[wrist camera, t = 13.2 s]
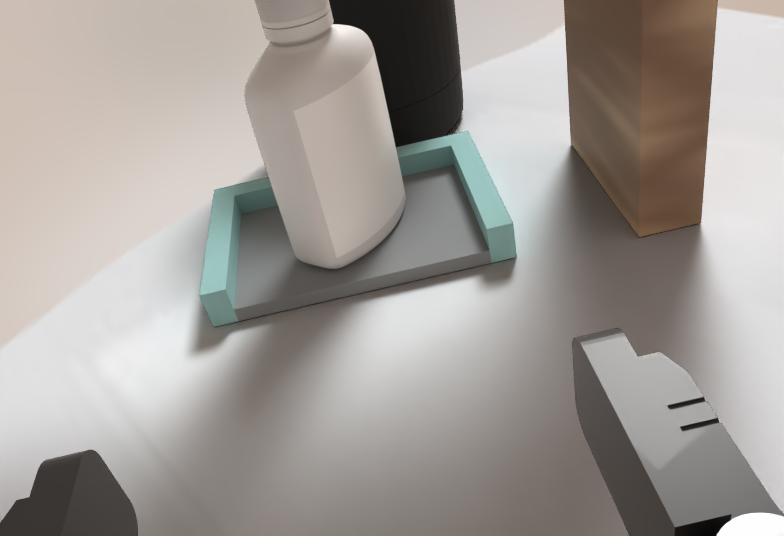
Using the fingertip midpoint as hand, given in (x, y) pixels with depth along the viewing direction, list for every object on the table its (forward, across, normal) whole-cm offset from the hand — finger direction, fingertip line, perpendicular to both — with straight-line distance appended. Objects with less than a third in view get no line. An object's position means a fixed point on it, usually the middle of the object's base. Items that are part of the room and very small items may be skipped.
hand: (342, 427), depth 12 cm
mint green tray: (+18, 0, +8) cm, 19 cm away
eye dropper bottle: (+17, 0, +8) cm, 19 cm away
